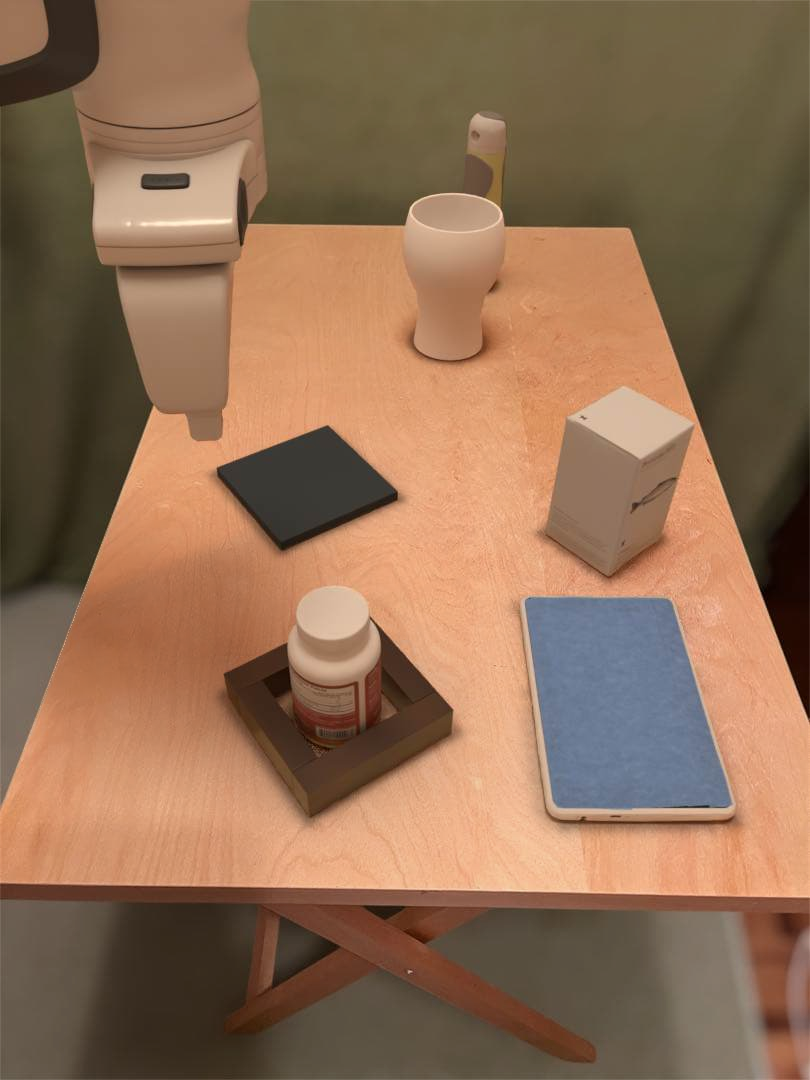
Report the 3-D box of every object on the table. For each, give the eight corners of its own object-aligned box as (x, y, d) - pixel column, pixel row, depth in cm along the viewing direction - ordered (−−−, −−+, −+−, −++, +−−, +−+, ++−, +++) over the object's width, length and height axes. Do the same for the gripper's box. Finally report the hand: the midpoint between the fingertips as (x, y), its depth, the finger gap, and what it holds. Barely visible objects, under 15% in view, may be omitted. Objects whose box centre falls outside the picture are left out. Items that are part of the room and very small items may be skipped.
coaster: (281, 550, 77) (280, 542, 77) (217, 475, 84) (216, 467, 84) (397, 499, 82) (398, 491, 82) (328, 432, 89) (327, 424, 89)
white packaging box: (608, 580, 76) (639, 460, 67) (542, 533, 80) (563, 414, 71) (663, 541, 79) (698, 422, 71) (597, 498, 83) (623, 380, 75)
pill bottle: (347, 667, 68) (343, 562, 61) (398, 720, 65) (401, 616, 57) (277, 709, 65) (264, 604, 58) (327, 767, 62) (321, 664, 54)
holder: (309, 817, 59) (307, 794, 57) (227, 697, 66) (223, 673, 64) (451, 733, 64) (453, 709, 62) (361, 629, 71) (361, 605, 69)
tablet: (737, 823, 60) (742, 813, 59) (545, 823, 59) (548, 812, 58) (671, 605, 74) (674, 594, 73) (516, 604, 73) (517, 592, 73)
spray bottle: (447, 283, 112) (457, 112, 99) (474, 271, 115) (488, 103, 101) (475, 298, 110) (490, 125, 96) (503, 285, 112) (521, 115, 98)
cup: (410, 313, 107) (414, 185, 96) (501, 324, 105) (514, 196, 95) (391, 361, 99) (393, 228, 89) (488, 374, 98) (501, 240, 87)
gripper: (135, 91, 53) (171, 304, 63) (86, 249, 39) (142, 497, 48) (244, 89, 54) (263, 301, 64) (236, 245, 39) (263, 490, 49)
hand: (211, 387), depth 56 cm, fingers open, 8 cm apart
